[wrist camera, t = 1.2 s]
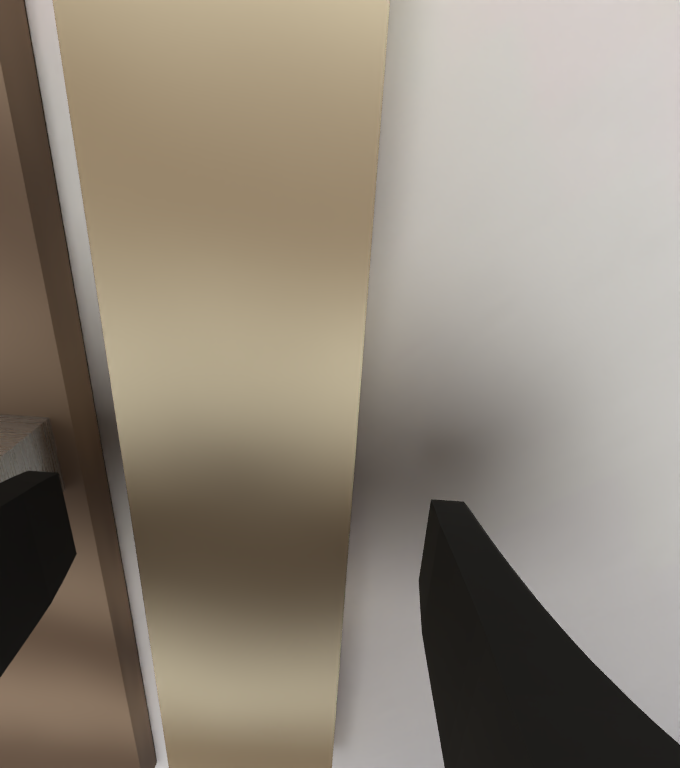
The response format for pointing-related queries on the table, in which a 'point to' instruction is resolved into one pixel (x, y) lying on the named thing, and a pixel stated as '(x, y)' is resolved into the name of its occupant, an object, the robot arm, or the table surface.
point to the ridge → (27, 446)
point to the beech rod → (234, 339)
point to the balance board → (77, 461)
